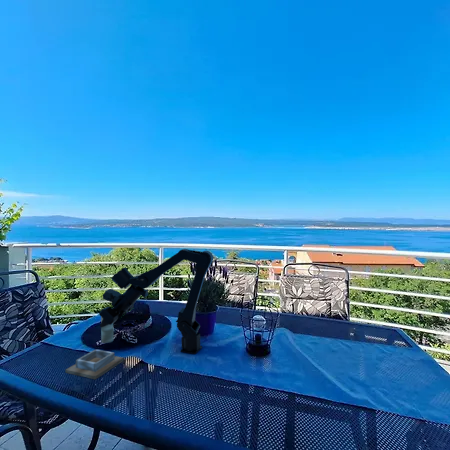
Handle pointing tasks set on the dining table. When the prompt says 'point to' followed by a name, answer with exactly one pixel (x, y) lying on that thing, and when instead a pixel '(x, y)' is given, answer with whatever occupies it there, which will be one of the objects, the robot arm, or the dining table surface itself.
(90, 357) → the socket
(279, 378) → the dining table surface
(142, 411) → the dining table surface
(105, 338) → the peg
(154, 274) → the robot arm
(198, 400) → the dining table surface
